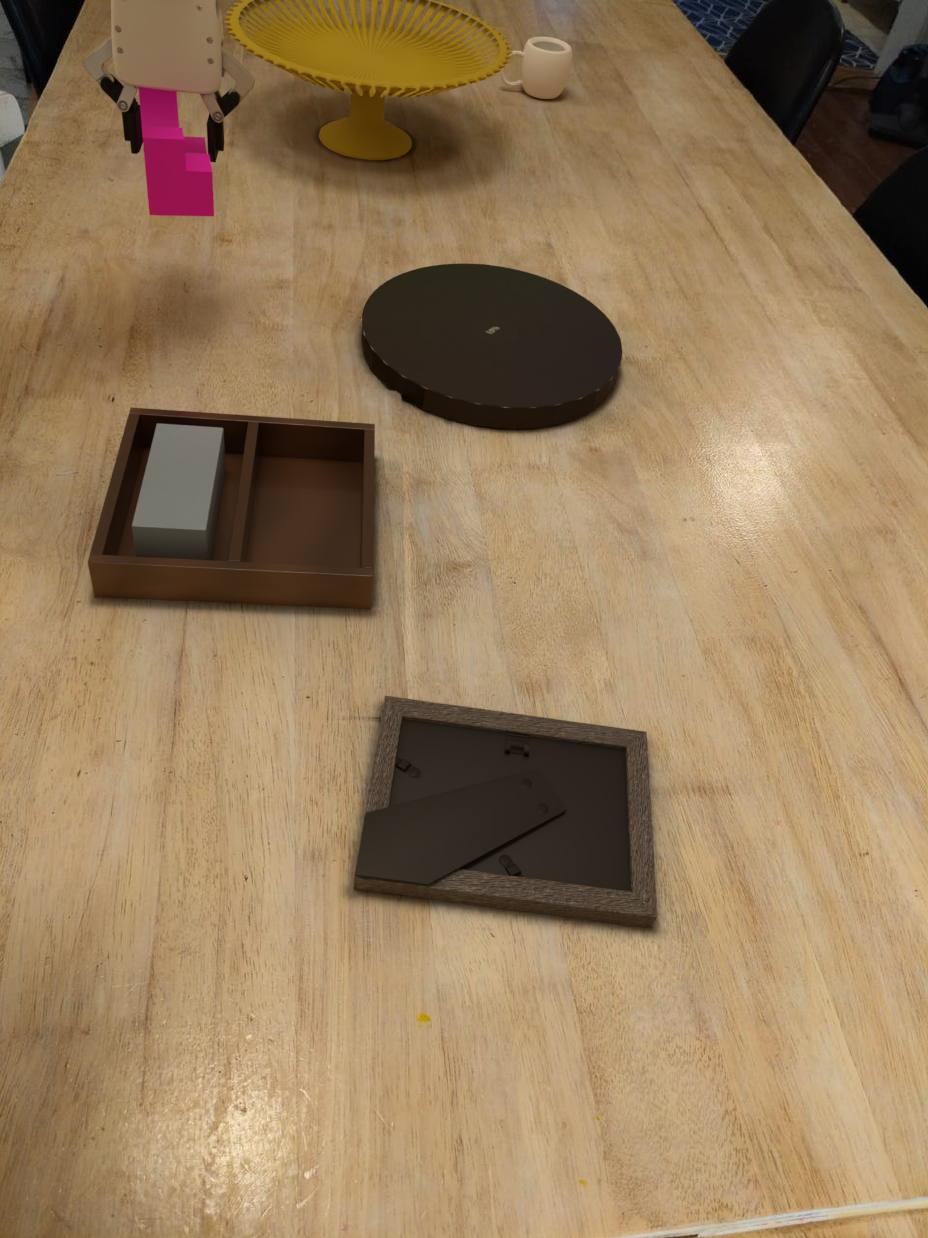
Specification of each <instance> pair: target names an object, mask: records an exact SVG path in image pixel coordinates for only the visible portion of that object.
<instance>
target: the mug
mask: <svg viewBox="0 0 928 1238" xmlns="http://www.w3.org/2000/svg"><path fill="white" fill-rule="evenodd" d="M510 51H511V52H513V53H512V54H510V55H509V56H511V57H513V56H518V57H521V60H520V79H518V80H516V81H509V80H508V79H507V78H506V74H505V68H506V67H504V68H502V69H501V70H503V71H501V72H499V77H500V80H501V82H502V83H503V84H504V85H505V86H507V87H513V88H514V87H518V86H520V85H522V88H523V90H524V92H525V93H526V94H527V95H529V96H530V97H533V98H537V99H541V100H553V99H557V98H558V97H559V96H560V95H561V94H562V93H563V91H564V90H565V88H566V85H567V83H568V80H569V78H570V74H571V70H572V64H573V48H572V46H571V45H570V44H568V43H567V42H566V41H563V40H562V39H559V38H555V37H551V36H550V37H549V36H534V37H531V38H528V39H527V41H526V43H525V44H524V47H523V50H522V51H521V50H518V49H517V50H510ZM505 65H506V66H507V64H505Z"/></svg>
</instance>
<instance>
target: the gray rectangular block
mask: <svg viewBox="0 0 928 1238" xmlns="http://www.w3.org/2000/svg"><path fill="white" fill-rule="evenodd" d="M225 472H226V463H225V446H224V429H223V428H219V427H204V426H189V425H174V424H159V423H157V425H156V429H155V433H154V437H153V441H152V445H151V449H150V454H149V458H148V462H147V466H146V470H145V474H144V478H143V482H142V486H141V490H140V494H139V498H138V502H137V507H136V511H135V515H134V519H133V523H132V531H133V538H134V544H135V551H136V557H154V558H174V559H194V560H211V558H212V552H213V546H214V540H215V534H216V528H217V521H218V515H219V509H220V503H221V497H222V491H223V484H224V478H225Z"/></svg>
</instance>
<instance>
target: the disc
mask: <svg viewBox="0 0 928 1238" xmlns="http://www.w3.org/2000/svg"><path fill="white" fill-rule="evenodd" d="M360 321H361V338H360V339H361V346H362V353H363V356H364V359H365V361H366V362H367V364H368V366H369V368H370V370H371V371H372V372H373V373H374V375H375V376H376V377H377V379H379V380H380V382H382V384H383V385H385V386H386V387H387V388H389V389H390V390H391V391H392V392H397V393H398V394H399V395H400V397H401V398H402V399H404V400H405V401H408V402H410V403H411V404H413V405H415V406H416V407H419V408H420V409H422V410H424V411H427V412H430V413H431V414H432V413H433V414H435V415H437V416H440V417H442V418H445V419H448V420H452V421H457V422H461V423H465V424H469V425H473V426H479V427H489V428H495V429H516V430H517V429H521V430H522V429H526V430H527V429H529V430H530V429H536V428H537V429H538V428H544V427H553V426H556V425H560V424H564V423H567V422H571V421H574V420H576V419H578V418H581V417H582V416H584V415H587V414H589V413H591V412H592V411H594V410H595V409H596V408H597V407H599V406H601V404H602V403H603V402H605V401H606V399H607V398H608V397H609V395H610V394H611V392H612V390H613V389H614V387H615V383H616V380H617V376H618V372H619V368H620V367H621V363H622V358H623V353H624V352H623V345H622V339H621V336H620V335H619V333H618V330H617V329H616V326H615V325H614V323H613V322H612V321H611V319H610V318H609V317H608V316H607V315H606V314H605V312H604V311H602V310H601V309H600V308H599V307H597V306H596V305H595V304H594V303H593V302H592V301H590V300H589V299H587V298H586V297H585V296H583V295H581V294H580V293H578V292H576V291H575V290H573V289H571V288H570V287H567V286H565V285H562V284H560V283H559V282H556V281H554V280H552V279H549V278H546V277H543V276H541V275H538V274H535V273H531V272H529V271H524V270H520V269H516V268H512V267H507V266H501V265H500V266H499V265H493V264H485V263H460V262H458V263H443V264H433V265H429V266H423V267H417V268H414V269H411V270H408V271H405V272H402V273H399V274H397V275H395V276H393V277H391V278H390V279H388V280H386V281H384V282H382V283H381V284H380V285H379V286H378V287H377V288H376V289H374V290H373V292H371V293H370V295H369V297H368V298H367V299H366V301H365V303H364V304H363V309H362V314H361V319H360Z"/></svg>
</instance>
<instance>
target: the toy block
mask: <svg viewBox="0 0 928 1238" xmlns="http://www.w3.org/2000/svg"><path fill="white" fill-rule="evenodd" d="M177 92H178V91H169V90H160V89H152V88H144V87H139V88H138V98H139V100H138V101H139V105H140V111H141V122H142V135H143V144H142V146H143V157H144V169H145V181H146V191H147V192H146V193H147V202H148V204H147V205H148V214H149V216H165V217H166V216H167V217H168V216H171V217H173V216H174V217H215V203H214V202H215V201H214V179H213V178H214V177H213V168H212V167H213V166H212V162H211V161H210V156H209V154H208V150H207V145H206V144H207V143H206V137H204V136H184V130H183V127H180V119H179V118H180V117H179V106H178V93H177Z"/></svg>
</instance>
